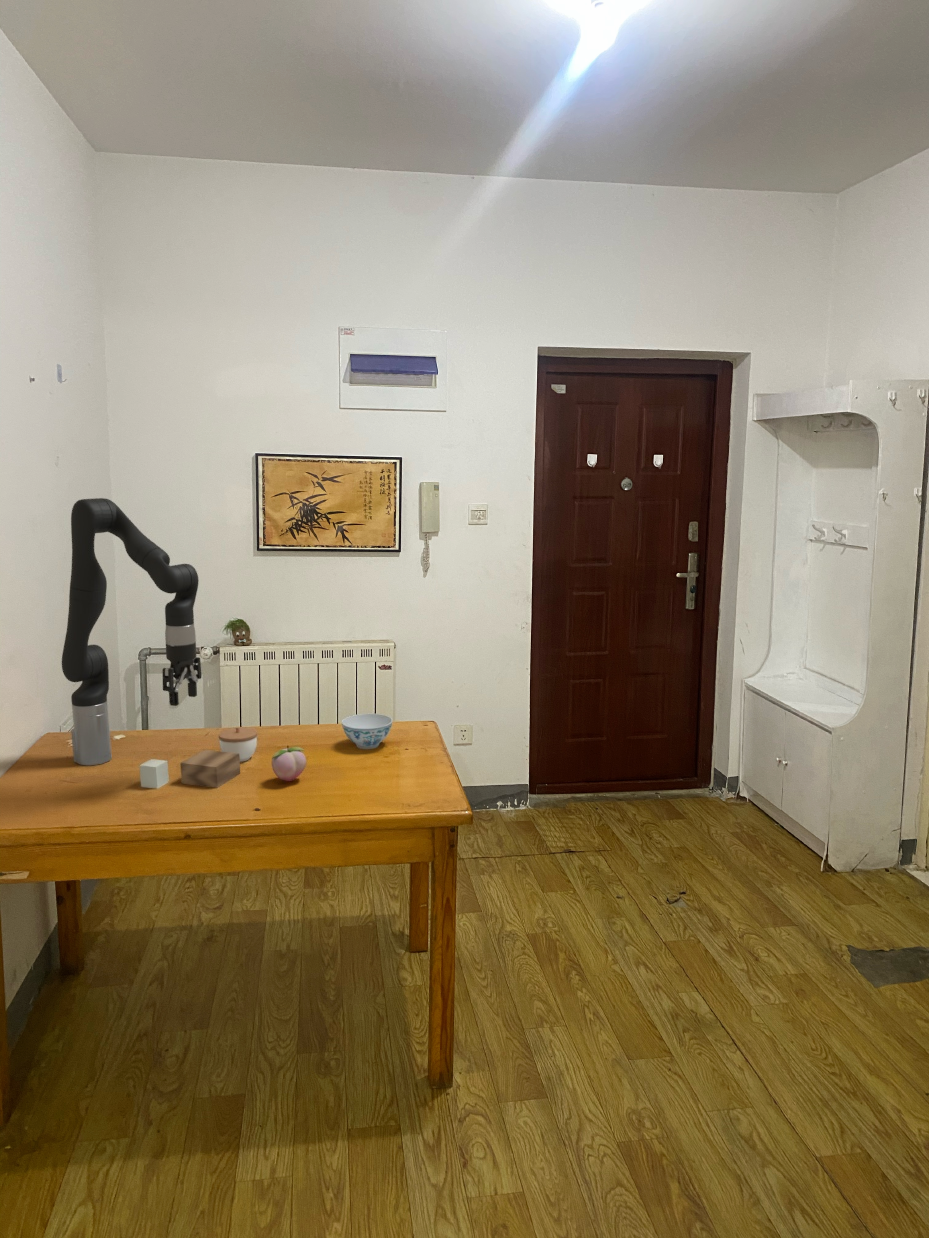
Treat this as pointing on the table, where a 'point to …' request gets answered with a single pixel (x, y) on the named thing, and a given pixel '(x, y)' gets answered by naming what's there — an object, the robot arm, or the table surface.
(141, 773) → the off-white cube
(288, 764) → the decorative fruit
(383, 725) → the chinaware
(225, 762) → the walnut block
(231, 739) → the lidded jar
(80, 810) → the table surface
